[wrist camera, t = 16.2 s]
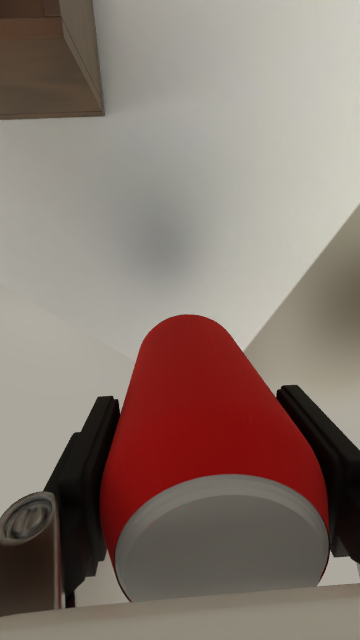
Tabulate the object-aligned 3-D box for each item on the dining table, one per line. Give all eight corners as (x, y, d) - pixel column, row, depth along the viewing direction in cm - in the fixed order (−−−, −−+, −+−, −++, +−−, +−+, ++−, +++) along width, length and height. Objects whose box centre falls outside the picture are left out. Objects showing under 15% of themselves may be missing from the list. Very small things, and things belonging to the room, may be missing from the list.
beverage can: (181, 289, 16) (216, 391, 4) (252, 350, 17) (425, 554, 6) (120, 361, 17) (19, 593, 5) (191, 413, 18) (231, 694, 7)
